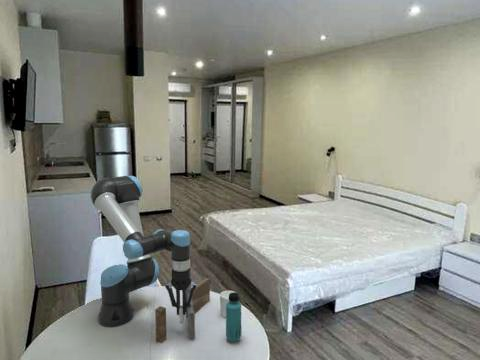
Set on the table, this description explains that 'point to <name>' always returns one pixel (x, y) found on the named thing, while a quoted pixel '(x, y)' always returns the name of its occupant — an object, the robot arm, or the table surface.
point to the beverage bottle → (233, 318)
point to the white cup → (224, 301)
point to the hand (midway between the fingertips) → (181, 321)
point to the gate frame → (198, 299)
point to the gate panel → (191, 319)
